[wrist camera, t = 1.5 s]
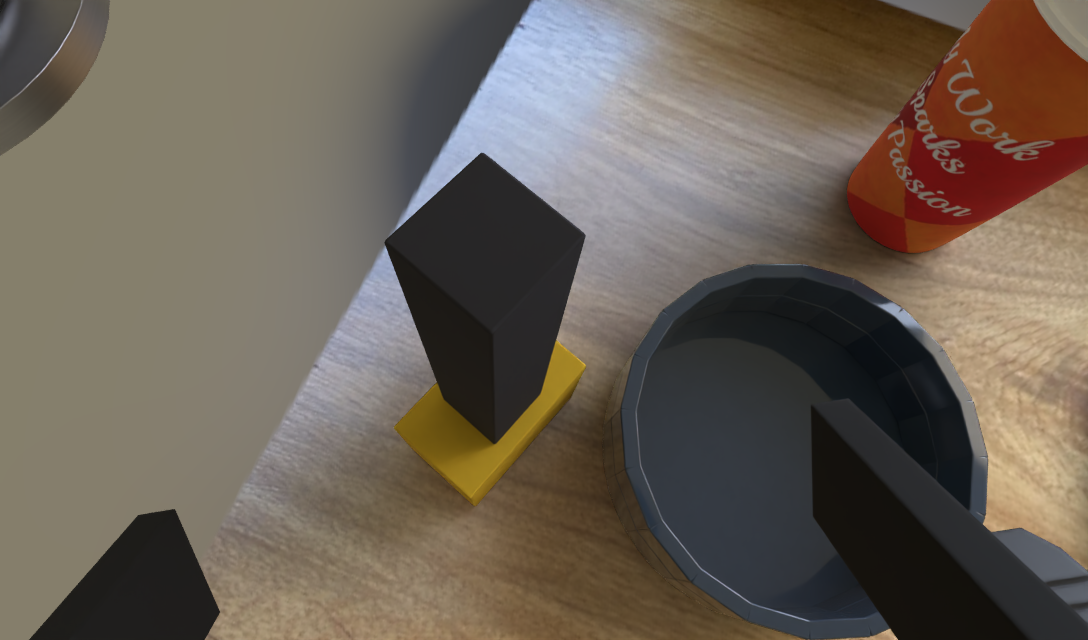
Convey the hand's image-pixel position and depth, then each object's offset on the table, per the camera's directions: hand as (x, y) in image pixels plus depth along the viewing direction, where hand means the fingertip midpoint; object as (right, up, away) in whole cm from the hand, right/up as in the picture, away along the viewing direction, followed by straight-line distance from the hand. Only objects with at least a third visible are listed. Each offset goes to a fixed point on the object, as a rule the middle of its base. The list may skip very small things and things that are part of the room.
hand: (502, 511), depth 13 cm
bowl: (+10, -2, +14) cm, 17 cm away
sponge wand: (-1, 0, +13) cm, 13 cm away
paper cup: (+18, +10, +18) cm, 28 cm away
